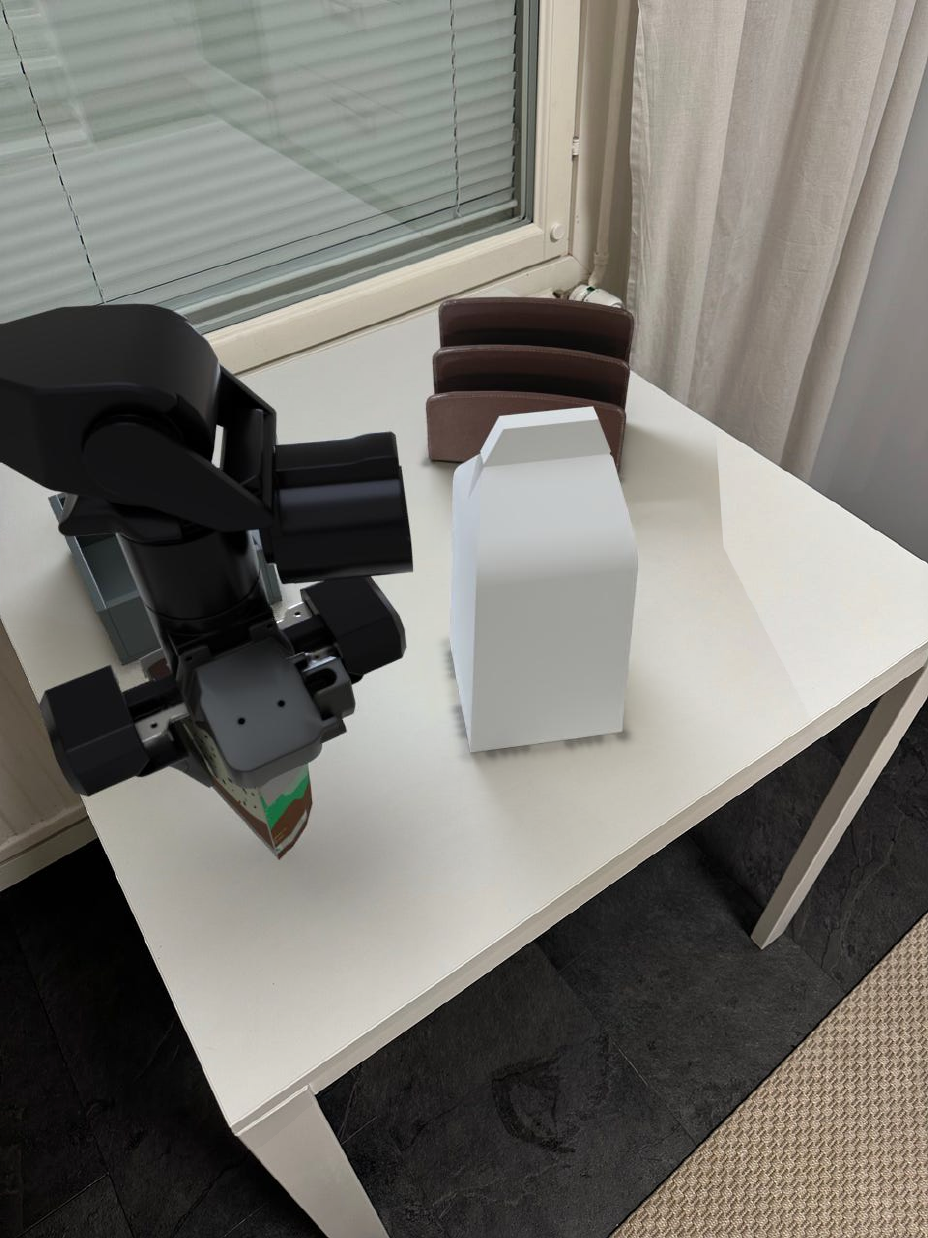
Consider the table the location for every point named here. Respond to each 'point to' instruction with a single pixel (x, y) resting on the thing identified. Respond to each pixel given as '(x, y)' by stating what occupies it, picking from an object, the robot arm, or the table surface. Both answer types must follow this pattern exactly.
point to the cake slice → (264, 809)
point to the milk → (541, 583)
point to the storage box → (129, 588)
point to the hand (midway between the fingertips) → (259, 758)
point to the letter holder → (525, 367)
